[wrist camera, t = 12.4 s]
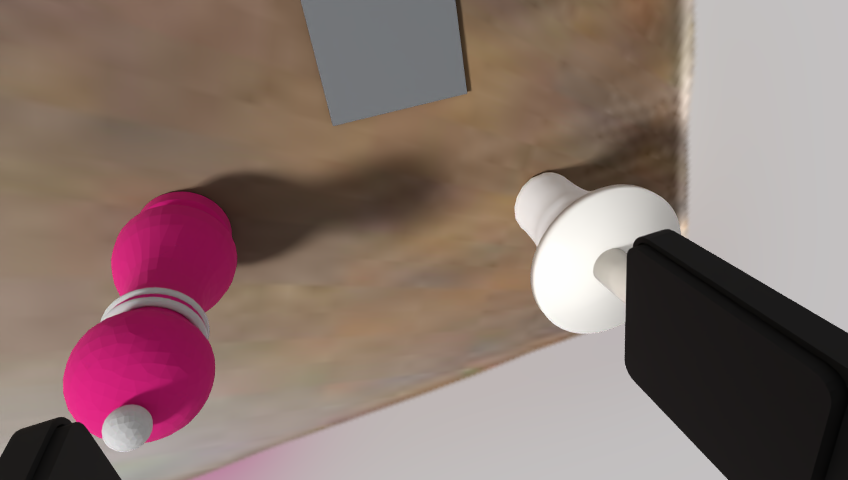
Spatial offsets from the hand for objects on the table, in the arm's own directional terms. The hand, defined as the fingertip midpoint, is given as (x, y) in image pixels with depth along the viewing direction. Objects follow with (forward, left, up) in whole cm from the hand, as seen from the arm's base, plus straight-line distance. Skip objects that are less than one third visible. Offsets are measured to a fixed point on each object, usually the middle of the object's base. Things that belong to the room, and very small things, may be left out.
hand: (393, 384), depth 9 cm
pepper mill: (+8, -10, -31) cm, 33 cm away
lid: (+14, +17, -20) cm, 30 cm away
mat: (-3, +7, -30) cm, 31 cm away
